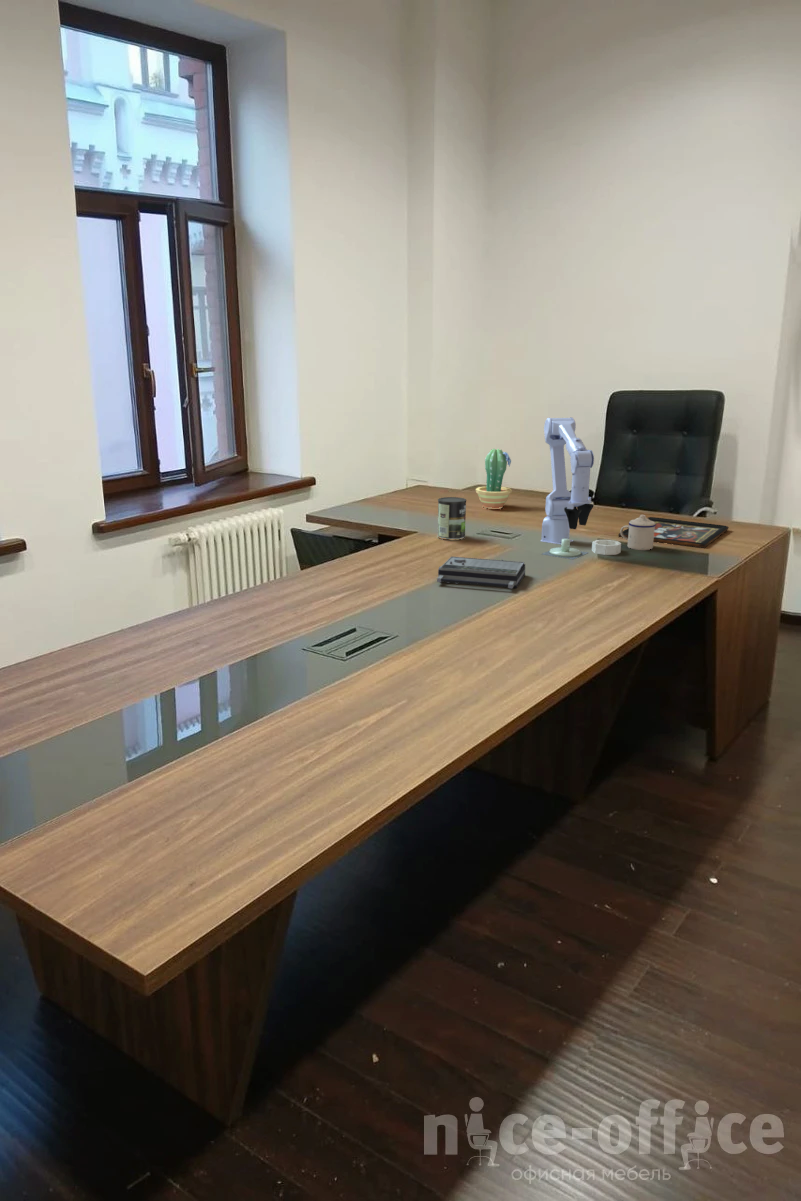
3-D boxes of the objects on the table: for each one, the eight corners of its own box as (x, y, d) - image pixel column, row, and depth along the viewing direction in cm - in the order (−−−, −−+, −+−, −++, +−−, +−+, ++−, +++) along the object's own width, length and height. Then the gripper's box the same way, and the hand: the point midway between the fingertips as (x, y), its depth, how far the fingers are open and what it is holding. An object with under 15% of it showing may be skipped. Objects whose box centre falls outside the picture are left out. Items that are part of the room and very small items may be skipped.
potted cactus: (501, 512, 372) (503, 452, 365) (468, 508, 380) (470, 449, 373) (517, 506, 385) (520, 448, 377) (485, 503, 393) (487, 445, 385)
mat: (540, 555, 303) (540, 554, 303) (557, 548, 312) (557, 547, 312) (573, 560, 296) (573, 559, 296) (588, 553, 305) (589, 552, 305)
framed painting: (637, 521, 359) (637, 514, 358) (729, 530, 344) (730, 523, 344) (615, 541, 326) (616, 534, 326) (716, 553, 312) (717, 545, 311)
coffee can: (468, 535, 331) (469, 497, 327) (461, 541, 322) (462, 502, 318) (441, 533, 334) (442, 496, 330) (433, 539, 325) (434, 500, 321)
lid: (544, 553, 303) (544, 540, 301) (558, 548, 311) (559, 534, 309) (572, 558, 297) (573, 544, 296) (585, 552, 305) (586, 538, 304)
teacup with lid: (656, 546, 315) (659, 514, 312) (649, 552, 308) (652, 518, 305) (623, 542, 321) (625, 510, 318) (615, 547, 314) (617, 514, 310)
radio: (525, 559, 277) (514, 575, 259) (524, 576, 279) (513, 593, 261) (449, 553, 284) (433, 569, 266) (449, 569, 286) (433, 586, 267)
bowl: (588, 553, 306) (588, 543, 305) (599, 548, 313) (600, 538, 312) (612, 557, 301) (613, 547, 300) (623, 552, 308) (624, 542, 307)
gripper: (582, 491, 290) (579, 532, 294) (600, 485, 301) (597, 524, 305) (562, 488, 294) (559, 529, 298) (581, 483, 305) (578, 522, 309)
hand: (577, 527), depth 301 cm, fingers open, 7 cm apart
